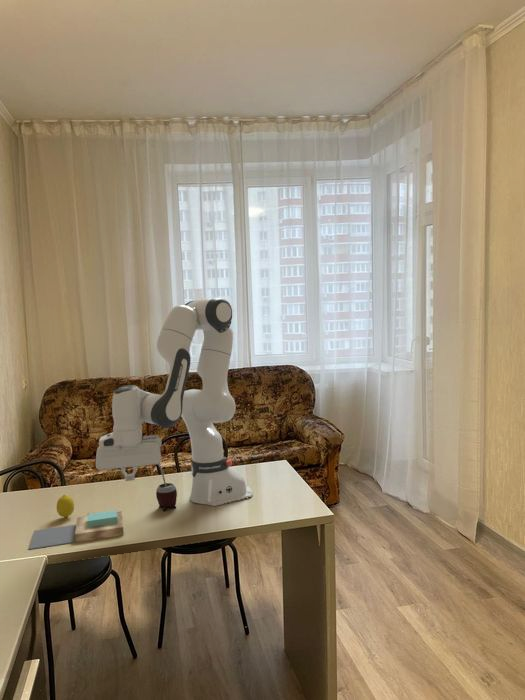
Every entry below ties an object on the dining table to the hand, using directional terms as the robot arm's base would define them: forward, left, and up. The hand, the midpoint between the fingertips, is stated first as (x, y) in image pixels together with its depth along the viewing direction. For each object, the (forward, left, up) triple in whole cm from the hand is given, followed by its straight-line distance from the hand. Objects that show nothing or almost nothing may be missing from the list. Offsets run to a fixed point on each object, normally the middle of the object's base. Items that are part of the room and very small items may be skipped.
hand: (129, 480), depth 171 cm
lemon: (+21, -15, -15) cm, 30 cm away
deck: (+10, 0, -15) cm, 18 cm away
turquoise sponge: (+9, 0, -12) cm, 15 cm away
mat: (+24, 0, -15) cm, 28 cm away
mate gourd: (-12, -11, -15) cm, 22 cm away
